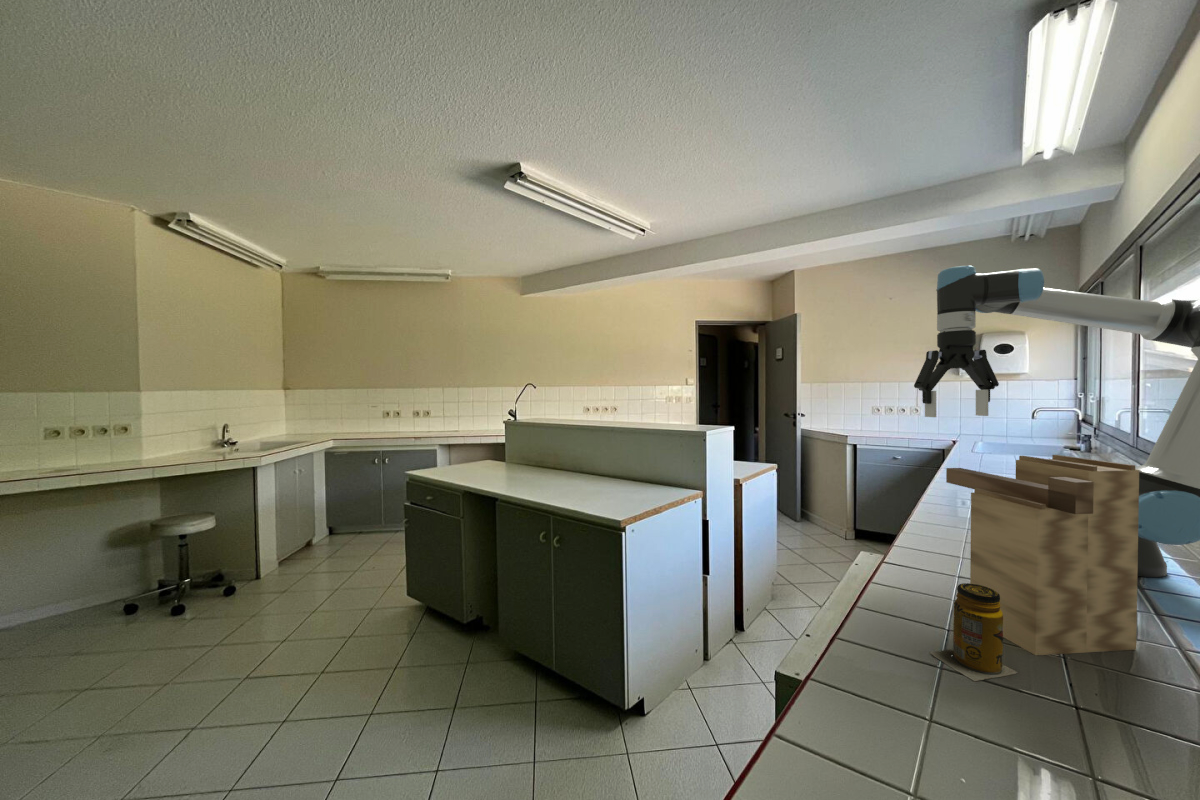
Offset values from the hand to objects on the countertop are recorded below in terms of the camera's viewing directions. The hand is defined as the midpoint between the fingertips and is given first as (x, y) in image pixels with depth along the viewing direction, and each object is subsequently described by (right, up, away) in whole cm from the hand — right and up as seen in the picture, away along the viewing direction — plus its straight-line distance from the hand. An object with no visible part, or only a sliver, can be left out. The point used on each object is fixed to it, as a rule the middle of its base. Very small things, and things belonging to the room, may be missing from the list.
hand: (956, 416), depth 112 cm
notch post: (-9, -37, -32) cm, 50 cm away
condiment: (-30, -38, -40) cm, 63 cm away
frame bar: (-14, -13, -30) cm, 36 cm away
